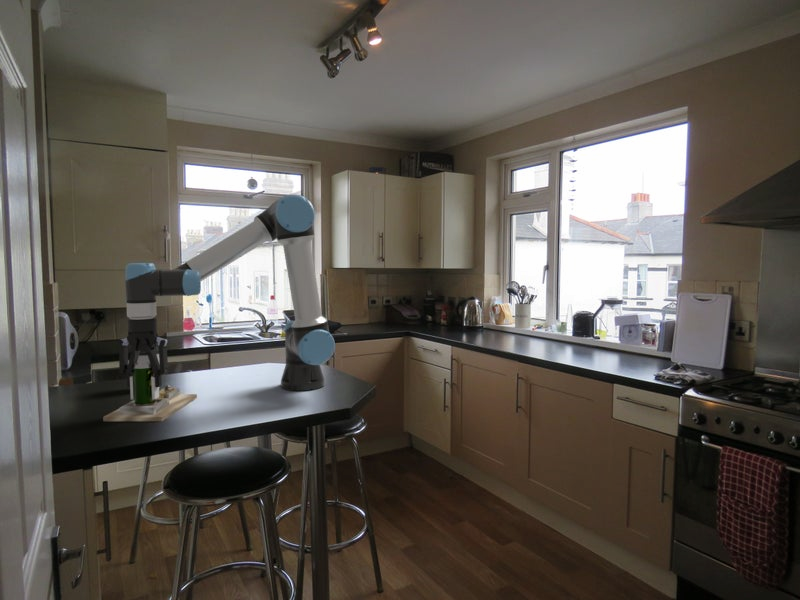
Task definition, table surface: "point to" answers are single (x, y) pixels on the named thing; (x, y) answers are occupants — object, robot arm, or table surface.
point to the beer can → (143, 384)
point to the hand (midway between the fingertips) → (145, 398)
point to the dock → (152, 408)
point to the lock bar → (165, 391)
